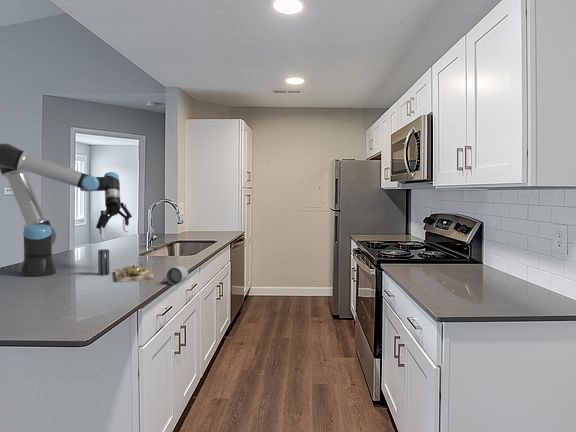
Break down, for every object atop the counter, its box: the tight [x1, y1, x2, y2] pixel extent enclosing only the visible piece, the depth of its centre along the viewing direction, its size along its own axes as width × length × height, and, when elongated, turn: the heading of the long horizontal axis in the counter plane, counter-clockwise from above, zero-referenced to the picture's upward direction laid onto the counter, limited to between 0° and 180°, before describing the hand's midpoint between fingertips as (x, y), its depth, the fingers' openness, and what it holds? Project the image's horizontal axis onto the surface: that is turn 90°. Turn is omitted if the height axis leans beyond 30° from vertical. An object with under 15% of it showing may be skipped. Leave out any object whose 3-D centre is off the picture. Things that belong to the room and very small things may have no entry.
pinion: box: [97, 248, 110, 276], centre depth 208 cm, size 5×5×12 cm
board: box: [114, 262, 155, 283], centre depth 205 cm, size 16×25×4 cm, turn 24°
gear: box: [122, 264, 147, 276], centre depth 199 cm, size 10×10×5 cm
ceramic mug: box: [162, 265, 189, 286], centre depth 191 cm, size 11×8×8 cm
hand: (114, 235), depth 217 cm, fingers open, 13 cm apart
